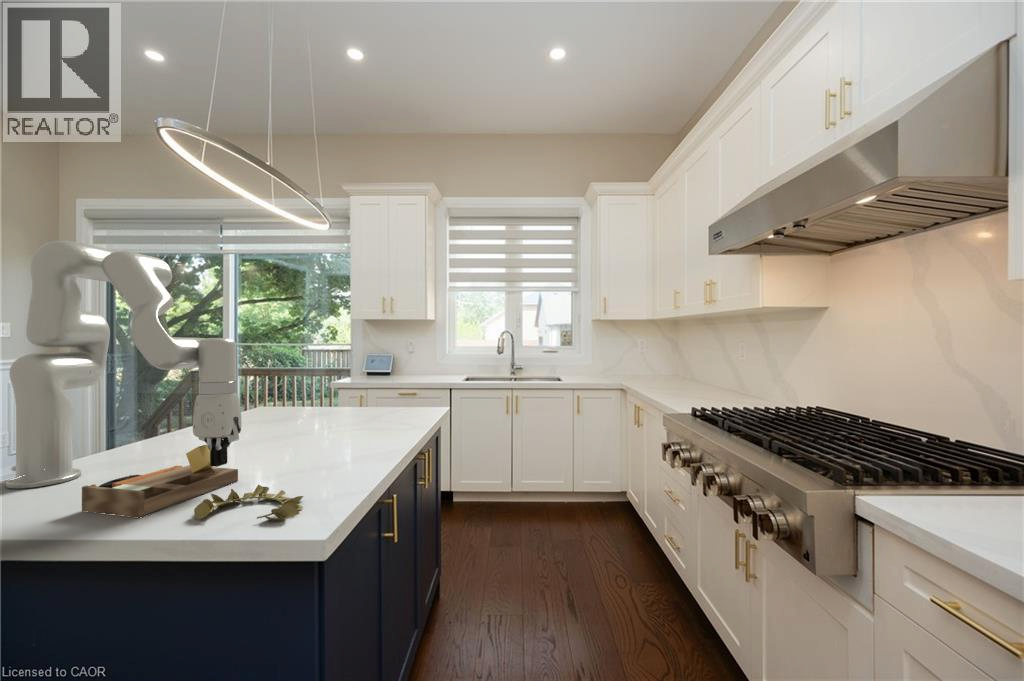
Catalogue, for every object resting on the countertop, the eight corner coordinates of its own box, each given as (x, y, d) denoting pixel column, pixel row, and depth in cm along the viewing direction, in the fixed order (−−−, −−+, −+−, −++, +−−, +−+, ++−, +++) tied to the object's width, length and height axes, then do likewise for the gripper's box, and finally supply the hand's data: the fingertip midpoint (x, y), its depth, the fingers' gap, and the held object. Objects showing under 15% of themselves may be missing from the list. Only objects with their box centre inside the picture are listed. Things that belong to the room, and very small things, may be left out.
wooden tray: (81, 511, 87) (81, 486, 87) (188, 477, 110) (188, 457, 110) (139, 518, 84) (139, 492, 84) (237, 481, 106) (238, 461, 106)
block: (192, 473, 103) (185, 453, 104) (210, 467, 108) (203, 449, 108) (205, 465, 102) (198, 446, 103) (223, 460, 107) (216, 442, 107)
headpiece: (287, 533, 81) (325, 505, 96) (289, 511, 82) (327, 487, 97) (180, 521, 83) (234, 496, 98) (182, 499, 83) (236, 478, 98)
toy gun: (158, 465, 116) (185, 465, 113) (159, 473, 116) (185, 474, 113) (88, 483, 102) (116, 484, 98) (88, 492, 101) (116, 494, 98)
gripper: (178, 390, 102) (179, 467, 102) (230, 391, 99) (231, 471, 99) (207, 387, 109) (207, 459, 109) (256, 387, 106) (257, 462, 106)
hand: (219, 464), depth 104 cm, fingers closed
